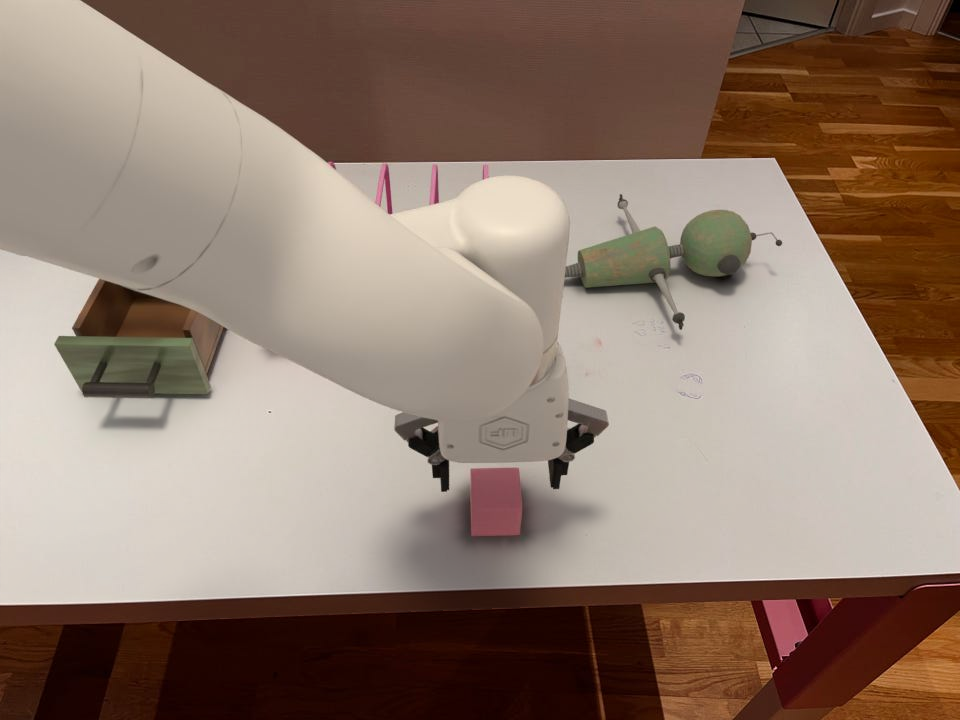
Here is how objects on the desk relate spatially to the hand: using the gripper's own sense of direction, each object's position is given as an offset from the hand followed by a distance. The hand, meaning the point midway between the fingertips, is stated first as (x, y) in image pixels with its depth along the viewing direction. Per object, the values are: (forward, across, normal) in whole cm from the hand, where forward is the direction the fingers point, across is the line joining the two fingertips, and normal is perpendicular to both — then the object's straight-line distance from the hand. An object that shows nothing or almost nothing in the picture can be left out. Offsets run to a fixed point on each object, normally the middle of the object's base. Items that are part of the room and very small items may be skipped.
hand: (499, 476), depth 66 cm
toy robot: (+7, +21, +34) cm, 41 cm away
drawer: (+5, -37, +20) cm, 42 cm away
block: (+6, 0, 0) cm, 6 cm away
